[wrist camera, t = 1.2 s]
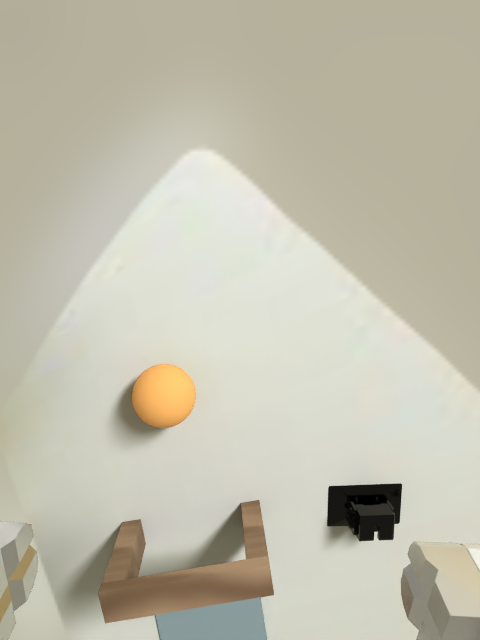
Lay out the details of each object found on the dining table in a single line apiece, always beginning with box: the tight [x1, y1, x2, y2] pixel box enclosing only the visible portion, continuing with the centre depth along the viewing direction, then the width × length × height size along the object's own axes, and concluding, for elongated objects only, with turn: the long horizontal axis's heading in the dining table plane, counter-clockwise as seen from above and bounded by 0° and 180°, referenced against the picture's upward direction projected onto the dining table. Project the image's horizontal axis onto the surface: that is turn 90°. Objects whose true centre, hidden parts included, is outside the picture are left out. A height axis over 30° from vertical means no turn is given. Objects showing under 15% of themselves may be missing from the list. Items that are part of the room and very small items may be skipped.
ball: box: [132, 364, 196, 428], centre depth 42 cm, size 6×6×6 cm
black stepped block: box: [327, 484, 402, 541], centre depth 47 cm, size 12×7×5 cm, turn 90°
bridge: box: [98, 500, 274, 623], centre depth 43 cm, size 3×15×10 cm, turn 98°
